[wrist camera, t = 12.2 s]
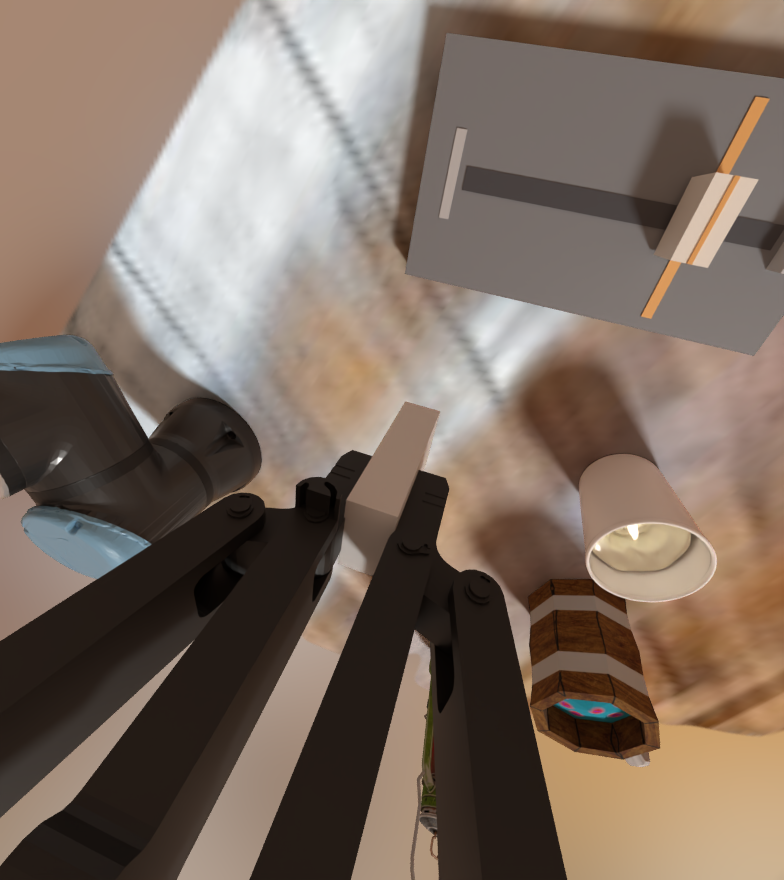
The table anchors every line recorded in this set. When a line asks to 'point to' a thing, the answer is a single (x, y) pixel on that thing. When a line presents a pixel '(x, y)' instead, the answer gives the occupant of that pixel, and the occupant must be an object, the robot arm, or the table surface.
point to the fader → (704, 217)
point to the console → (601, 187)
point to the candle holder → (640, 532)
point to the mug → (589, 673)
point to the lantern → (427, 783)
